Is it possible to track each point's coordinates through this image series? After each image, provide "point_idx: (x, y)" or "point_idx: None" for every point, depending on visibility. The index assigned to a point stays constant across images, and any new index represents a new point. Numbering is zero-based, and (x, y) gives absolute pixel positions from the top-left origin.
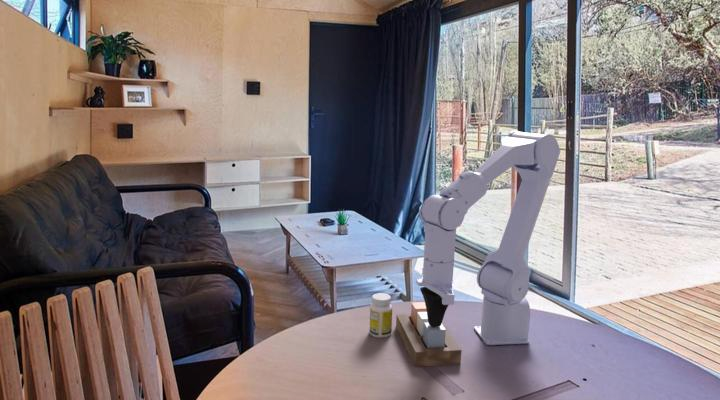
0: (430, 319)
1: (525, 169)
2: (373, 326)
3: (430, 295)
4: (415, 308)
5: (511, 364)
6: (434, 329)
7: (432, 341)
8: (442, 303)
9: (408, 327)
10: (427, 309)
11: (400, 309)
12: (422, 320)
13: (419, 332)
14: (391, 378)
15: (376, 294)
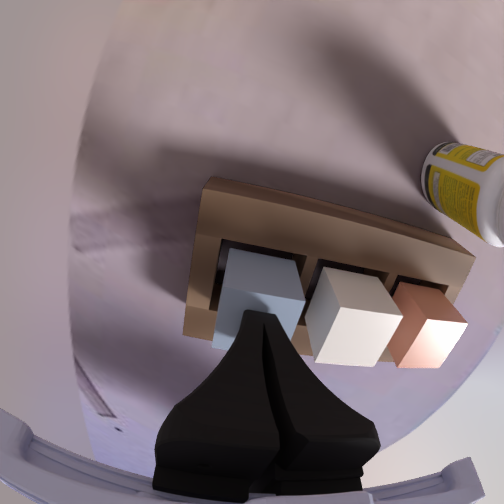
0: (240, 329)
1: None
2: (459, 147)
3: (169, 452)
4: (429, 319)
5: (171, 389)
6: (222, 311)
7: (224, 276)
8: (10, 415)
9: (393, 253)
10: (274, 357)
11: (500, 291)
12: (337, 305)
13: (343, 272)
14: (168, 76)
15: None
